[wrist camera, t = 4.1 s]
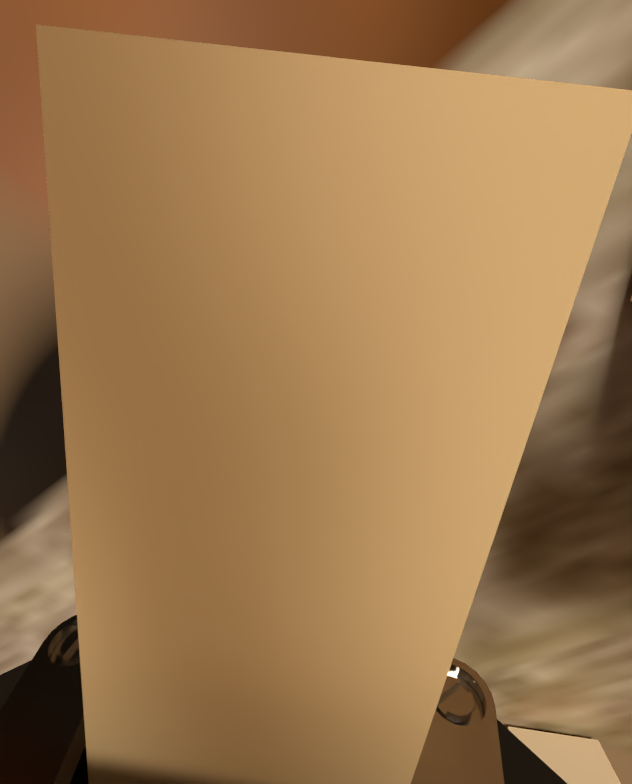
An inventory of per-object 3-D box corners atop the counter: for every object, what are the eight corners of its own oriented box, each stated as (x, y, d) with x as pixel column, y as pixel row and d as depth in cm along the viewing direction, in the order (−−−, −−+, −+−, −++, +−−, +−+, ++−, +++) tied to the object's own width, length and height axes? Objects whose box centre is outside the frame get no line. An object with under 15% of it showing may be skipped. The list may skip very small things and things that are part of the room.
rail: (431, 231, 9) (645, 91, 2) (323, 734, 14) (293, 1127, 8) (268, 209, 9) (36, 24, 3) (222, 711, 15) (108, 1076, 8)
